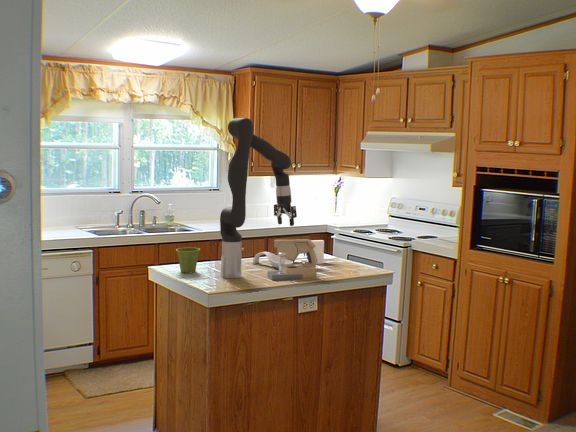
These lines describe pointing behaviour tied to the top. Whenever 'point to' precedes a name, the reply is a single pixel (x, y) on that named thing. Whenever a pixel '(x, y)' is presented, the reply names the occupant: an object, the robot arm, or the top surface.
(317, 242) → the base with upright slab
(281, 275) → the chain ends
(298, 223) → the top surface
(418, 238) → the top surface
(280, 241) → the gun
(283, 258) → the pin
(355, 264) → the top surface
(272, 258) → the spoon rest
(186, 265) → the plant pot
